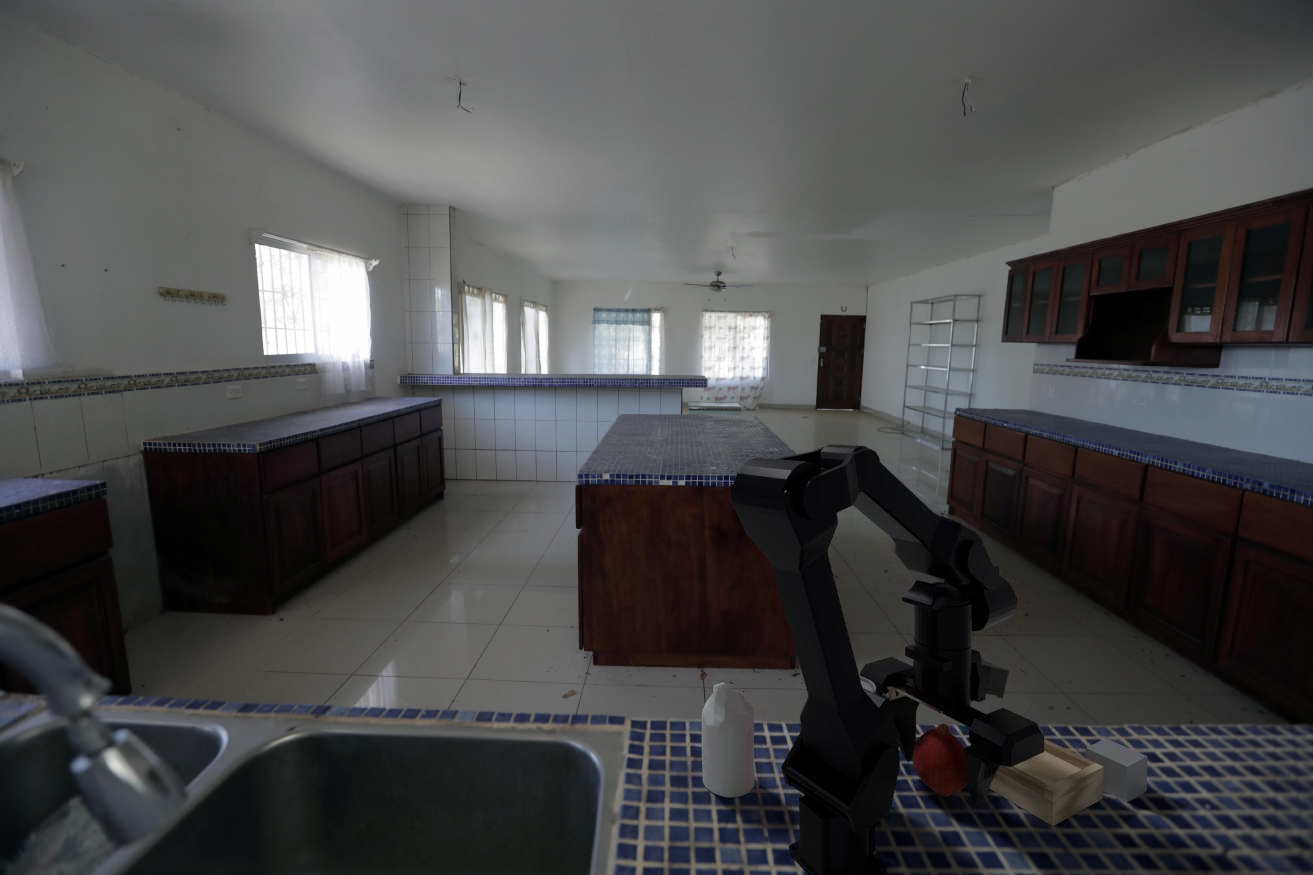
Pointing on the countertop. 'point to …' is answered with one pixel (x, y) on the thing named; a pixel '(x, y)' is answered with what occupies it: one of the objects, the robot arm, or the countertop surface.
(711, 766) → the white plastic bottle
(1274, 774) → the countertop surface
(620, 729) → the countertop surface
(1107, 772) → the grey cube
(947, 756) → the red pomegranate
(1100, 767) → the square tray
